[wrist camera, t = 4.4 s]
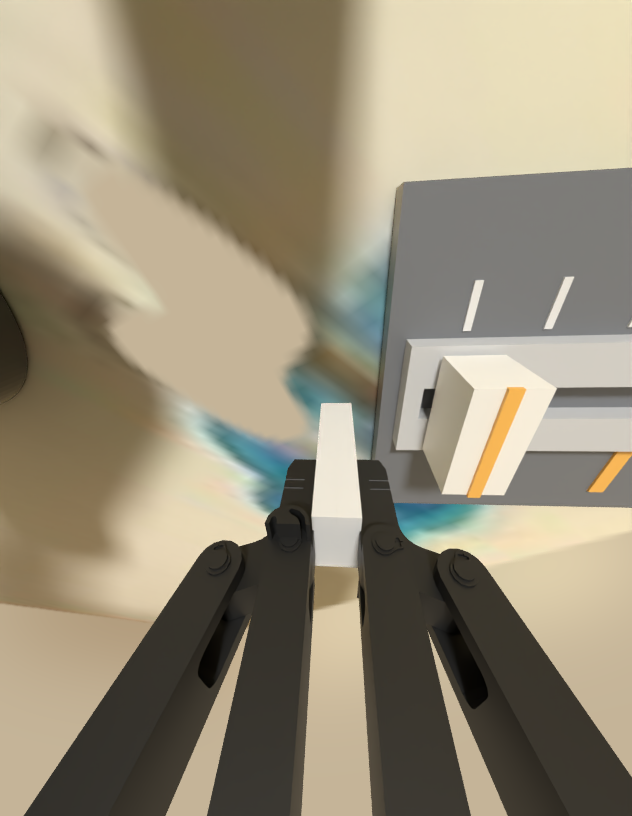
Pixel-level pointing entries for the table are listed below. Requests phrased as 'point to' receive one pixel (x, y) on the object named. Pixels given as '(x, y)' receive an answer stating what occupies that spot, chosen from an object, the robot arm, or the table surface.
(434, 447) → the fader
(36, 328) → the table surface
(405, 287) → the console
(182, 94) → the table surface
